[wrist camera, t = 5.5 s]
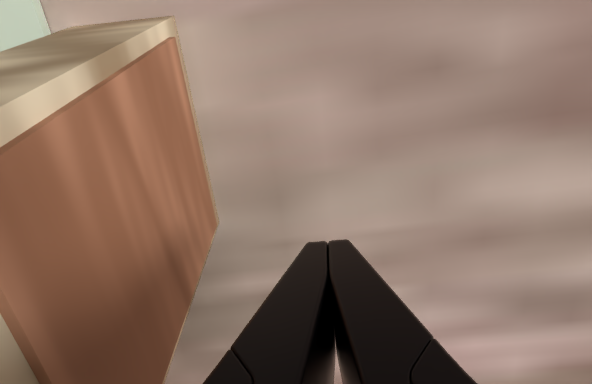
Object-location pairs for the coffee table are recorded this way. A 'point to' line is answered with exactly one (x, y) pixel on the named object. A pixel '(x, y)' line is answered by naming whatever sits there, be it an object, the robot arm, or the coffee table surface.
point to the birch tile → (99, 204)
